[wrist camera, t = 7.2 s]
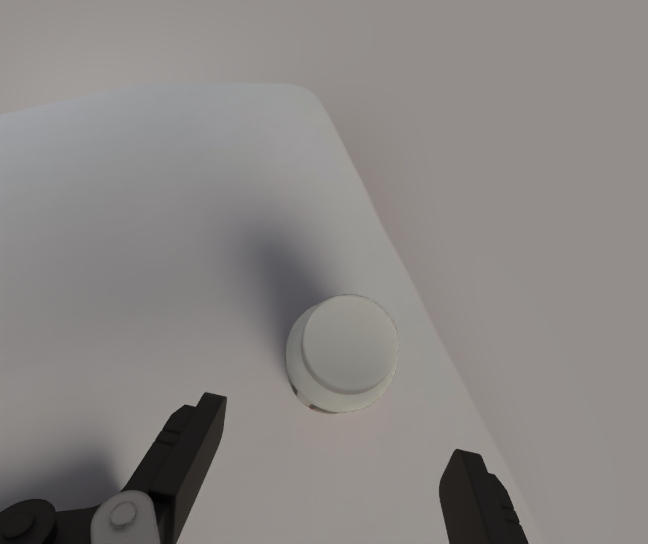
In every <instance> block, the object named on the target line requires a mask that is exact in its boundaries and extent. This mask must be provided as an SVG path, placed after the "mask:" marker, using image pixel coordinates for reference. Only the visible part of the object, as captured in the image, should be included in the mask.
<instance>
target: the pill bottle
mask: <svg viewBox="0 0 648 544" xmlns="http://www.w3.org/2000/svg"><path fill="white" fill-rule="evenodd" d="M398 349H399V340H398V334H397V330H396V327H395V325H394V322H393V321H392V319H391V317H390V316H389V315H388V313H387V312H386V311H385V310H384V309H383V308H382V307H381V306H380V305H378V304H377V303H376V302H374V301H373V300H371V299H369V298H366V297H363V296H359V295H353V294H343V295H338V296H334V297H331V298H329V299H327V300H325V301H324V302H321V303H318V304H316V305H314V306H312V307H311V308H309V309H308V310H307V311H305V312H304V313H303V314H302V315H301V316H300V317H299V318H298V320H297V321H296V322H295V324H294V325H293V327H292V329H291V331H290V334H289V336H288V340H287V343H286V350H285V361H286V367H287V373H288V378H289V382H290V385H291V387H292V389H293V391H294V393H295V395H296V396H297V398H298V399H299V400H300V401H301V402H302V403H303V404H305V405H306V406H307V407H309V408H311V409H313V410H315V411H318V412H321V413H327V414H336V413H348V412H355V411H358V410H361V409H363V408H365V407H367V406H369V405H371V404H373V403H374V402H375V401H377V400H378V399H379V398H380V397H381V396H382V395H383V394H384V393H385V391H386V390H387V389H388V387H389V386H390V384H391V382H392V380H393V377H394V374H395V371H396V366H397V355H398Z"/></svg>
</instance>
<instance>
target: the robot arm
mask: <svg viewBox="0 0 648 544" xmlns="http://www.w3.org/2000/svg"><path fill="white" fill-rule="evenodd" d="M226 403H227V397H225V396H221V395H216V394H212V393H207V392H205V393H204V394H203V396H202V397H201V399H200V401H199V402H198V404H197V406H196V407H194V406H189V405H184V406H182V407H181V408H180V409H178V410H177V411H176V412H174V413H173V414H172V415H171V416H170V418H169V419H168V421H167V422H166V424H165V426H164V427H163V430H162V431H161V432H160V433H159V435H158V436H157V438H156V440H155V442H154V443H153V444H152V446H151V447H150V449H149V450H148V452H147V453H146V455H145V456H144V458H143V460H142V461H141V463H140V464H139V466H138V467H137V469H136V470H135V472H134V473H133V475H132V477H131V478H130V480H129V481H128V483H127V484H126V486H125V487H124V488H123V489H122V490H121V491H120V492H119V493H118V494H116V495H114V496H112V497H110V498H109V499H108V500H106V501H105V502H104V503H103V504H101V505H98V506H95V507H92V508H86V509H78V510H69V511H61V512H55V508H54V507H53V505H52V504H51V503H50V502H48V501H46V500H42V499H30V500H25V501H22V502H19V503H16V504H14V505H12V506H10V507H8V508H6V509H5V510H3V511H2V512H0V544H176V543H177V540H178V538H179V536H180V534H181V531H182V529H183V527H184V524H185V522H186V520H187V518H188V515H189V513H190V511H191V508H192V506H193V504H194V501H195V499H196V497H197V495H198V492H199V490H200V488H201V485H202V483H203V481H204V479H205V476H206V474H207V472H208V469H209V467H210V465H211V462H212V460H213V458H214V456H215V453H216V451H217V449H218V446H219V443H220V440H221V437H222V433H223V427H224V419H225V411H226ZM439 497H440V503H441V507H442V512H443V516H444V521H445V525H446V530H447V534H448V539H449V544H528V541H527V539H526V536H525V534H524V531H523V529H522V526H521V525H520V524H519V519H518V517H517V514H516V512H515V511H514V507H513V504H512V502H511V500H510V497H509V495H508V492H507V490H506V489H505V487H504V486H503V485H502V484H501V482H500V481H499V480H498V478H497V477H496V476H495V475H494V474H490V473H488V472H487V469H486V466H485V464H484V461H483V458H482V457H481V455H480V454H477V453H473V452H468V451H464V450H459V449H456V450H455V451H454V452H453V454H452V456H451V458H450V461H449V463H448V465H447V467H446V469H445V471H444V473H443V475H442V477H441V480H440V485H439Z"/></svg>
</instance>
